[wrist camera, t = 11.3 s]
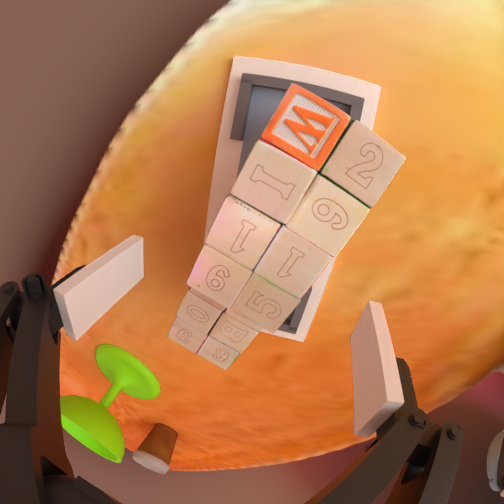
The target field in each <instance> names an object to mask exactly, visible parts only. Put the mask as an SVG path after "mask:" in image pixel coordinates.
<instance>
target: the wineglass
mask: <svg viewBox="0 0 504 504" xmlns="http://www.w3.org/2000/svg"><path fill="white" fill-rule="evenodd" d="M95 357H96V362H97V364H98V366H99V368H100V370H101V371H102V373H103V374H104V375H105V376H106V377H107V379H108V380H109V381H110V382H112V383H113V384H112V386H111V387H110V389H109V390H108V391H107V393H106V394H105V395H104V397H103V398H102V400H101V401H100V402H99V403H98V402H96V401H94V400H92V399H90V398H87V397H82V396H77V395H70V396H63V397H61V398H60V409H61V421H62V427H63V428H64V429H65V430H66V431H67V432H68V433H69V434H71V435H72V436H73V437H74V438H75V439H77V440H78V441H80V442H81V443H82V444H83V445H85V446H86V447H88V448H89V449H91V450H92V451H94V452H96V453H97V454H99V455H101V456H103V457H104V458H106V459H109V460H111V461H113V462H117V463H120V462H121V460H122V458H123V455H124V446H125V442H124V438H123V434H122V430H121V428H120V426H119V424H118V422H117V420H116V419H115V418H114V416H113V415H112V414H111V413H110V412H109V411H108V410H107V409H108V407H109V406H110V404H111V403H112V401H113V400H114V399H115V397H116V396H117V394H118V393H119V391H120V390H122V391H123V392H125V393H127V394H129V395H131V396H133V397H136V398H139V399H146V400H150V399H154V398H156V397H157V396H158V395H159V394H160V385H159V382H158V381H157V379H156V378H155V376H154V375H153V373H152V372H151V371H150V370H149V369H148V368H147V367H146V366H145V365H144V364H143V363H142V362H141V361H140V360H138V359H137V358H136V357H134V356H133V355H131V354H130V353H128V352H127V351H125V350H123V349H121V348H119V347H116V346H114V345H110V344H101V345H99V346H98V347H97V348H96V352H95Z"/></svg>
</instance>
